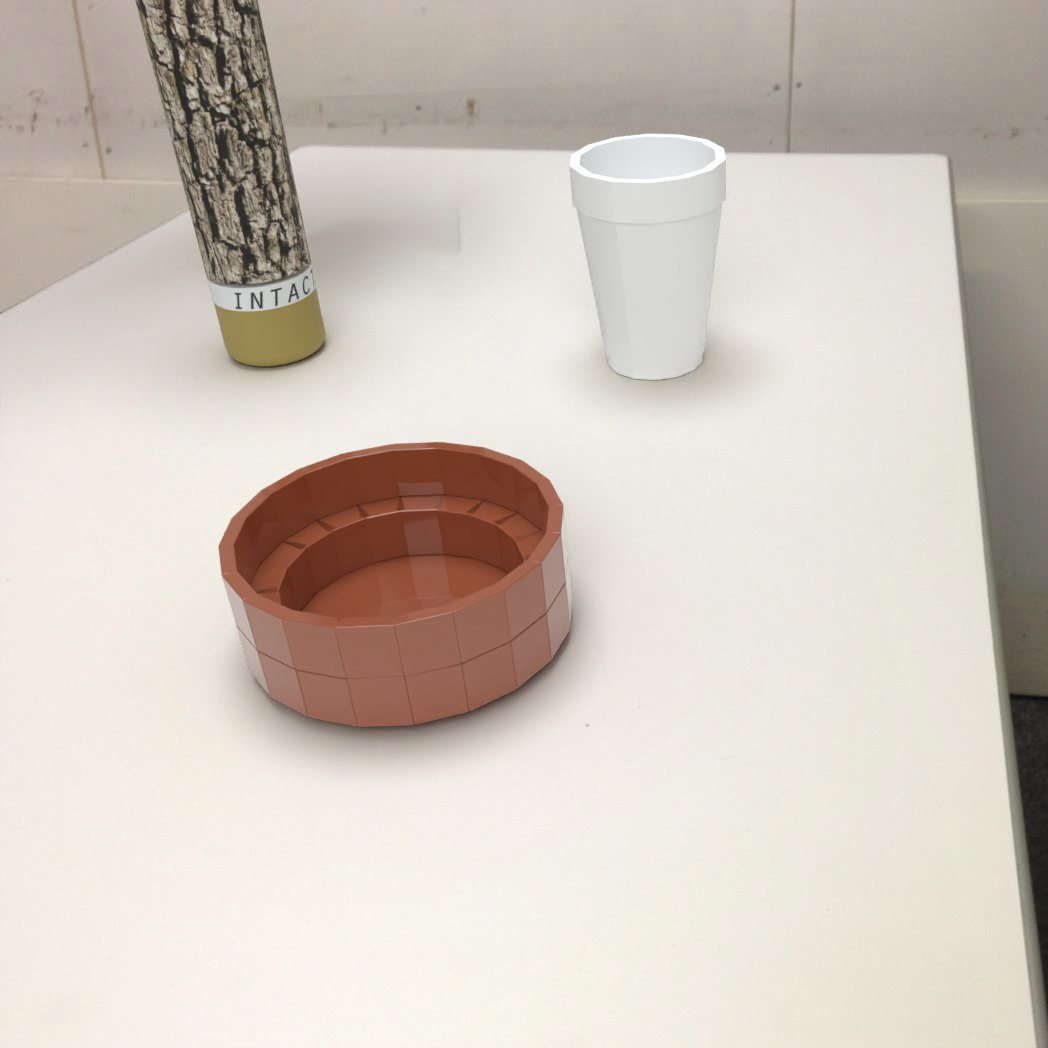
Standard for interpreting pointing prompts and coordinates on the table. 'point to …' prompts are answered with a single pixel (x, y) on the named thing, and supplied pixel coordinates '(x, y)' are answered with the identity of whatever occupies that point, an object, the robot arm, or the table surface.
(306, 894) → the table surface
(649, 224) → the foam cup
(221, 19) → the paper tube
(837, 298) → the table surface
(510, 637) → the bowl
